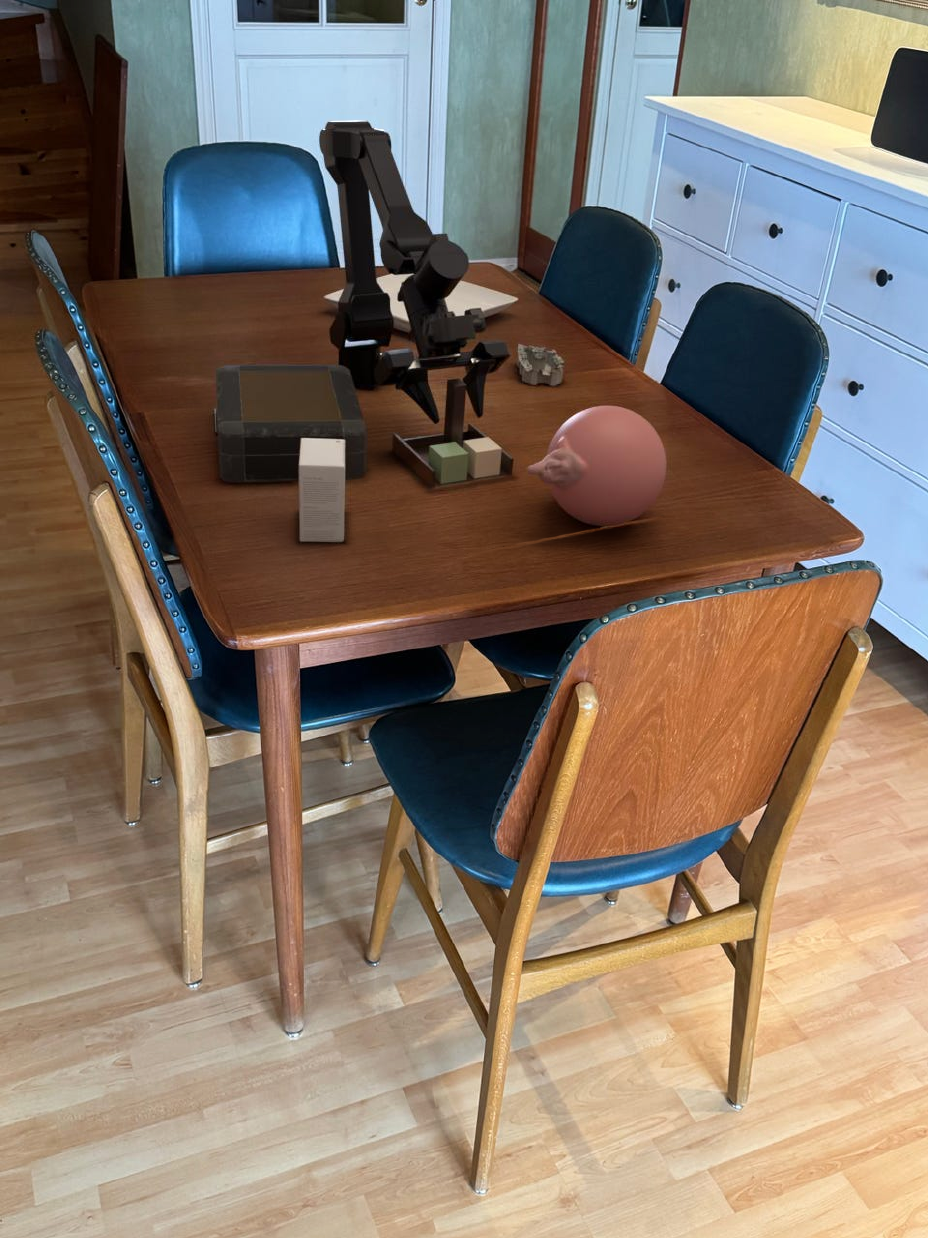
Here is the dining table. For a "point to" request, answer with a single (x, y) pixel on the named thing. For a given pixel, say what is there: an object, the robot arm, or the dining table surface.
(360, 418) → the cash box
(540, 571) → the dining table surface
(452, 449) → the sage block
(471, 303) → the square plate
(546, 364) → the grey castle model
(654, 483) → the balloon
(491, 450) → the cream block
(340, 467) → the small box
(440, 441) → the brown tray with post
